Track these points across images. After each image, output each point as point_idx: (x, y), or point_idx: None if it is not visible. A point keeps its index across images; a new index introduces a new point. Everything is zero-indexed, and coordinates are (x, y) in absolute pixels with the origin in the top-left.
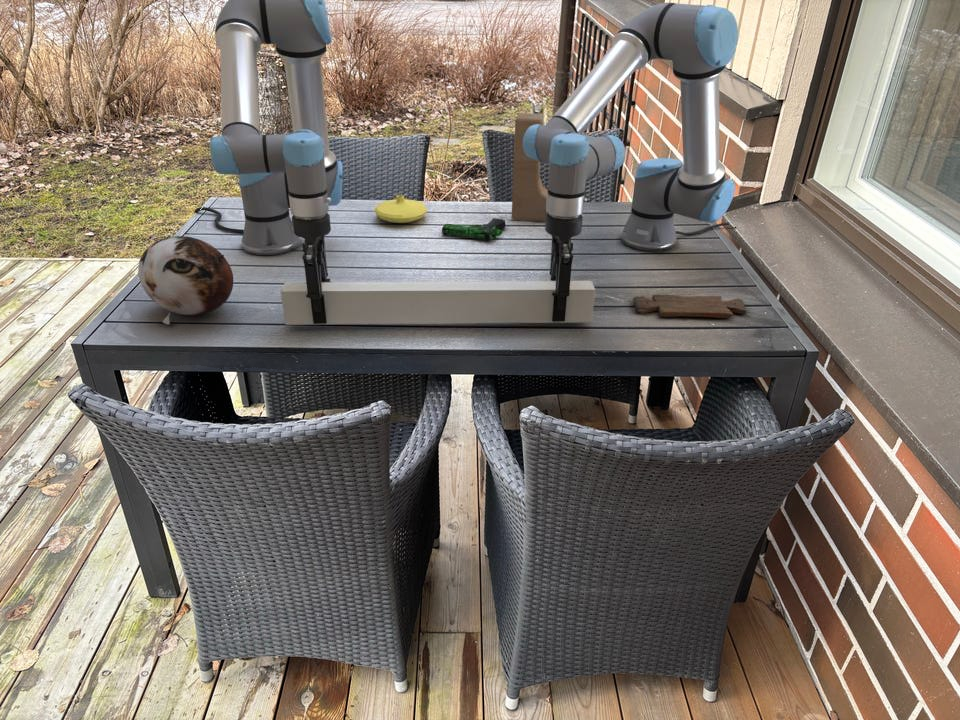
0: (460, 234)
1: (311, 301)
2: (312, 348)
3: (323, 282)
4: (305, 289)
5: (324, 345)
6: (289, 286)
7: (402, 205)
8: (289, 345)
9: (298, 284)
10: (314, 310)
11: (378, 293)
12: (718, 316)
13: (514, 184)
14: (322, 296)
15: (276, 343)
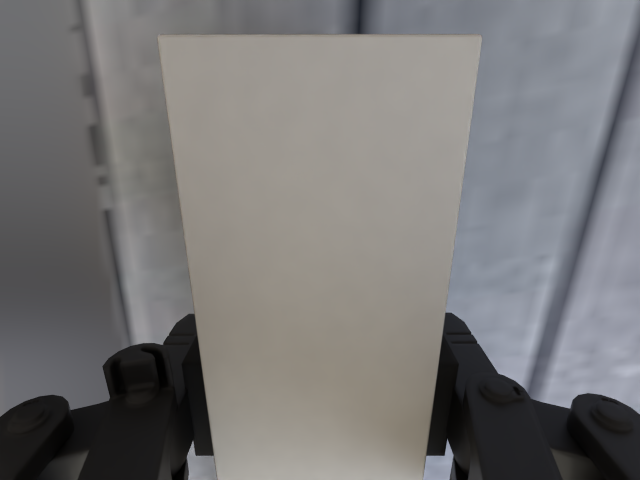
0: None
1: (197, 337)
2: (111, 241)
3: (418, 469)
4: (243, 343)
5: (146, 287)
6: (331, 141)
7: None
8: (121, 126)
9: (387, 248)
10: (180, 323)
11: None
12: None
13: None
14: (197, 448)
15: (132, 46)
